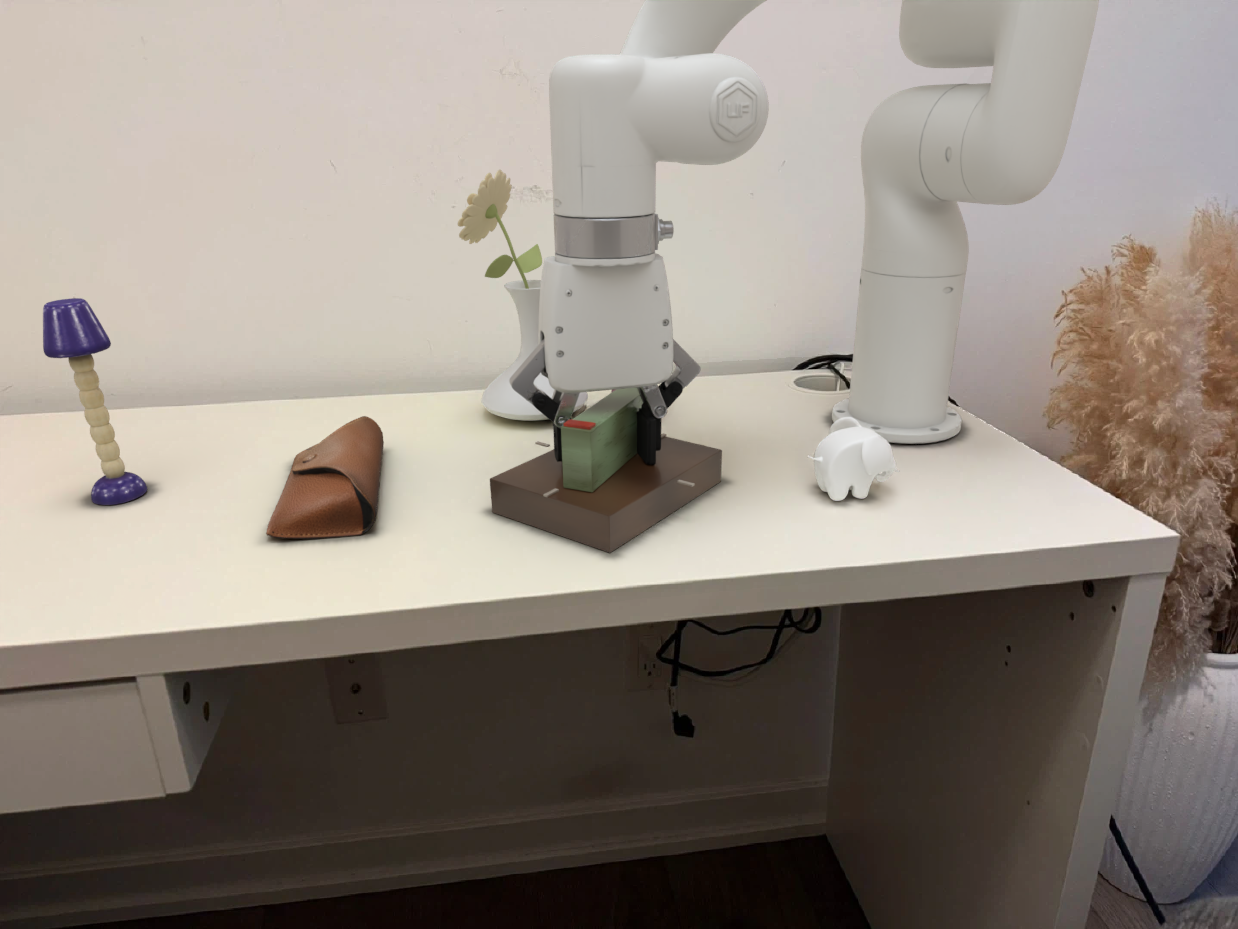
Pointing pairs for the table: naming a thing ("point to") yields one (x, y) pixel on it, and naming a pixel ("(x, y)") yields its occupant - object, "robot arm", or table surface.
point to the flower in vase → (525, 295)
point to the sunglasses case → (332, 486)
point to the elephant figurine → (852, 459)
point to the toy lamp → (90, 391)
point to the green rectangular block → (600, 440)
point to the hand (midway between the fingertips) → (608, 461)
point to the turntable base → (607, 494)
